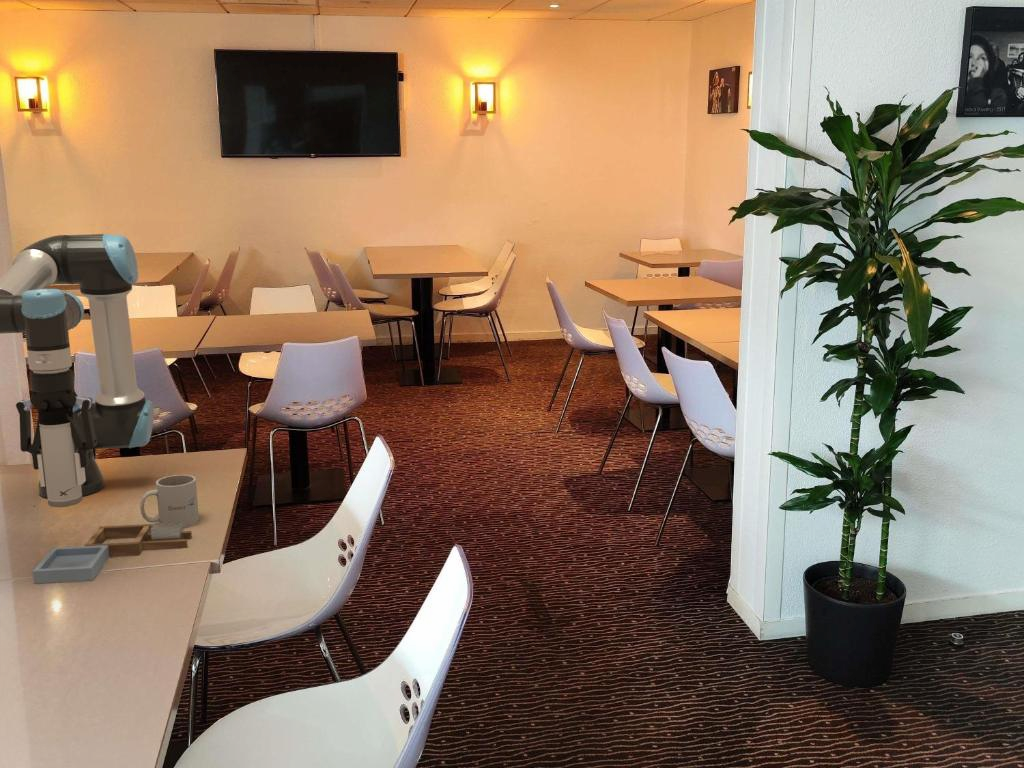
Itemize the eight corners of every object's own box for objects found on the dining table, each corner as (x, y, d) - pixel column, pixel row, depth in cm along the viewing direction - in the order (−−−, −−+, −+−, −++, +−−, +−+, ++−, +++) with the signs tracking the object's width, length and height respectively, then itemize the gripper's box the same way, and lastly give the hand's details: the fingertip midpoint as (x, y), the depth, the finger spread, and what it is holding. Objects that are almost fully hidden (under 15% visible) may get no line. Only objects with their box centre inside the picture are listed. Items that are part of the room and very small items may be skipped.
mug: (198, 513, 225) (195, 473, 223) (199, 526, 217) (195, 484, 215) (143, 519, 221) (139, 478, 219) (141, 532, 213) (137, 490, 211)
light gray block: (155, 541, 208) (153, 524, 207) (183, 540, 209) (182, 522, 208) (152, 546, 205) (150, 529, 204) (181, 545, 206) (179, 527, 205)
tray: (54, 559, 198) (52, 548, 198) (109, 556, 200) (108, 545, 199) (33, 583, 187) (32, 571, 186) (92, 580, 188) (91, 568, 188)
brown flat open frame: (101, 537, 211) (100, 526, 210) (194, 532, 213) (193, 521, 213) (85, 557, 199) (83, 546, 199) (183, 552, 202) (182, 541, 201)
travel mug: (71, 508, 186) (60, 409, 182) (41, 506, 188) (29, 407, 183) (90, 498, 192) (80, 402, 188) (61, 496, 194) (51, 400, 189)
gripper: (-10, 375, 179) (5, 492, 184) (97, 372, 182) (108, 487, 187) (5, 367, 187) (19, 480, 192) (108, 364, 189) (118, 475, 194)
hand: (63, 483), depth 189 cm, fingers closed on travel mug, 6 cm apart
